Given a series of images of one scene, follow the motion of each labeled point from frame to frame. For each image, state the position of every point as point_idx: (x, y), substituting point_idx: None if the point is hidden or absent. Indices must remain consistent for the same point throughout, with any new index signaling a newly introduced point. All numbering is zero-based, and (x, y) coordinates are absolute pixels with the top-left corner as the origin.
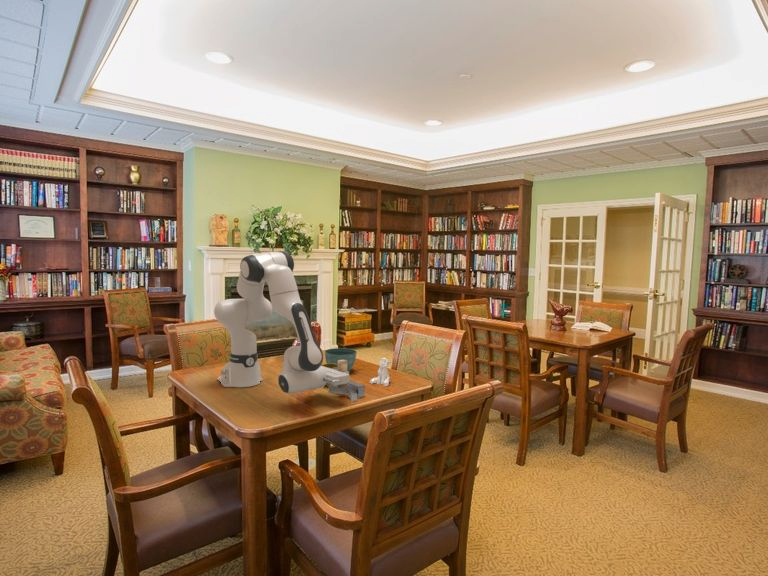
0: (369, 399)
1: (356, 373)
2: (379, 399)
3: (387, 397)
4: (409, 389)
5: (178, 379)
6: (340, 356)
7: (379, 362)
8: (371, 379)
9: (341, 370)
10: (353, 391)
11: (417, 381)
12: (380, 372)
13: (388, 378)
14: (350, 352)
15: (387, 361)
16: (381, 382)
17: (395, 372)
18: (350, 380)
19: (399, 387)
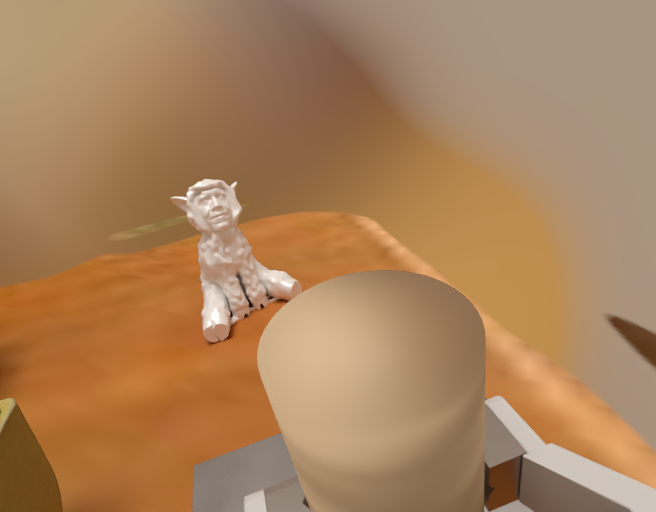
0: (535, 418)
1: (9, 362)
2: (532, 364)
3: (489, 323)
4: (376, 246)
5: None
6: None
7: (190, 215)
8: (208, 320)
9: (478, 499)
10: (516, 501)
11: (292, 223)
12: (229, 259)
13: (260, 264)
14: None
15: (231, 187)
16: (259, 298)
17: (152, 251)
18: (277, 439)
19: (336, 265)
